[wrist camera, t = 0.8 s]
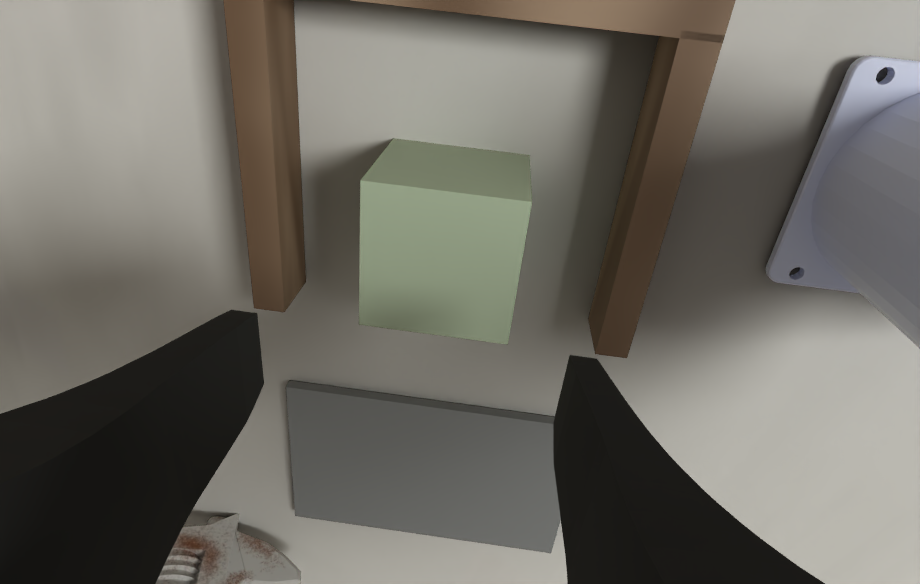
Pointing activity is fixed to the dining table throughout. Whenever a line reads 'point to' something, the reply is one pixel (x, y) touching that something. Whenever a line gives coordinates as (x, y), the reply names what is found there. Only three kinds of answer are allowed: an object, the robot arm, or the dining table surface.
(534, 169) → the dining table surface
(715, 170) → the dining table surface
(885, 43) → the dining table surface
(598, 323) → the wooden u-shaped frame
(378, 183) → the cube
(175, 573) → the wrench
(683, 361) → the dining table surface
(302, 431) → the mat
